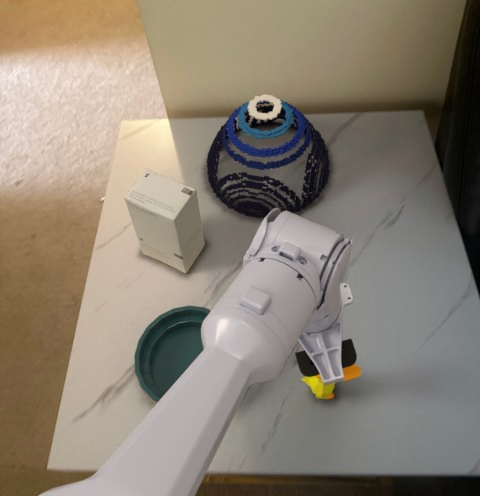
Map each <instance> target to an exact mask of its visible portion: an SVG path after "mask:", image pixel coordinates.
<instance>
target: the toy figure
mask: <svg viewBox="0 0 480 496" xmlns="http://www.w3.org/2000/svg"><path fill="white" fill-rule="evenodd" d="M342 370H343V374H344V380H343V381H342V382H348V381H352V380H354V379H356V378H358V377H360V376H361V375H362V368H361V367H360V366H359V365H357V364H356V363H355V364H353V365H352V366H350V367H346V368H342ZM300 380H301V381H302V382H304V383H305V384H306V385H308V386H309V387H310V390H311V391H312V394H314V395H315V398H316V399H318V400H332V399H334V398H335V393H334V392H333V390H335V387H336V386H335V384H336V383H332V384H328V385H323V382H322V379H321V376H320V375H316V376H313V377H306V376H304V377H302V378H301V379H300Z"/></svg>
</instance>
